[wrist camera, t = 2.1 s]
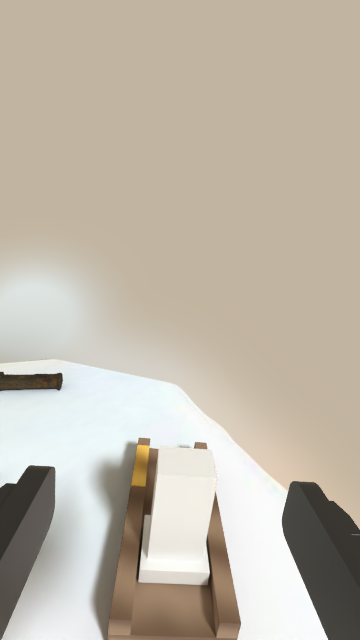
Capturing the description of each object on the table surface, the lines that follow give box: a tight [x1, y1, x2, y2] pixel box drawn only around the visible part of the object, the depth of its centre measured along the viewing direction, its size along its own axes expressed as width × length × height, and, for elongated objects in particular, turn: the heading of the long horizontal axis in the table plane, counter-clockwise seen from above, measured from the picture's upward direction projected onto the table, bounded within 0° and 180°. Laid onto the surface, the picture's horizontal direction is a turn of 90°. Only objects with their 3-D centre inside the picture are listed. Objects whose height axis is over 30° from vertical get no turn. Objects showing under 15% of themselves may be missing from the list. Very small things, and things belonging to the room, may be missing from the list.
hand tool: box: [0, 372, 63, 391], centre depth 64 cm, size 19×4×5 cm, turn 104°
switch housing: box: [107, 438, 241, 640], centre depth 36 cm, size 24×12×4 cm, turn 2°
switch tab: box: [138, 446, 218, 585], centre depth 30 cm, size 6×7×13 cm
